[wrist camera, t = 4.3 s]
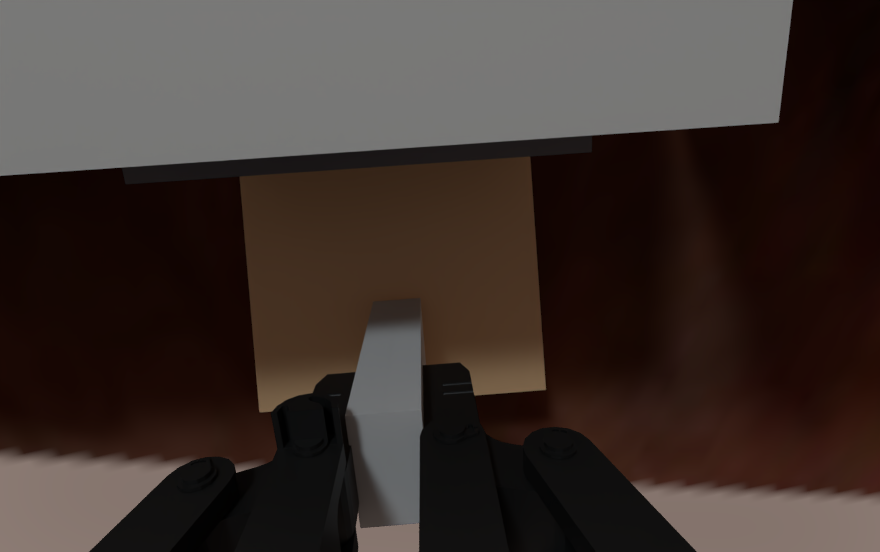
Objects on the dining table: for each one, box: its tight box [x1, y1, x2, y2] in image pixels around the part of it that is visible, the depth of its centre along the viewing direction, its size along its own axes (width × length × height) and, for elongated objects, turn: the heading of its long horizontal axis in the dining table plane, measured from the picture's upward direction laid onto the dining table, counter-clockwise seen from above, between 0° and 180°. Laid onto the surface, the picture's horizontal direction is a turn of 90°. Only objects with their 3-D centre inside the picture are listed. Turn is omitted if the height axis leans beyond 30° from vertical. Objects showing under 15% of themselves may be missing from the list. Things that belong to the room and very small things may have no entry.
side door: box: [240, 157, 546, 412], centre depth 18 cm, size 10×1×8 cm
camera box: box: [0, 0, 793, 184], centre depth 11 cm, size 28×11×11 cm, turn 94°
